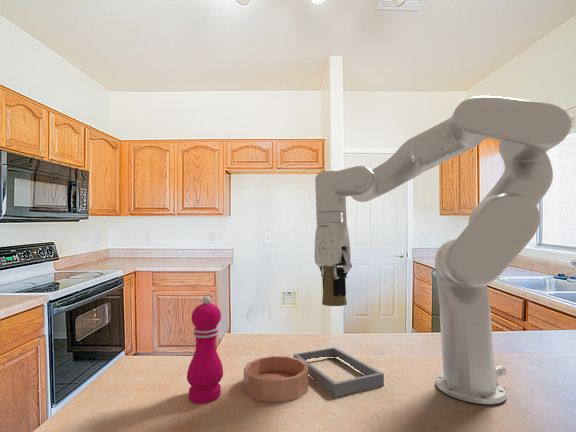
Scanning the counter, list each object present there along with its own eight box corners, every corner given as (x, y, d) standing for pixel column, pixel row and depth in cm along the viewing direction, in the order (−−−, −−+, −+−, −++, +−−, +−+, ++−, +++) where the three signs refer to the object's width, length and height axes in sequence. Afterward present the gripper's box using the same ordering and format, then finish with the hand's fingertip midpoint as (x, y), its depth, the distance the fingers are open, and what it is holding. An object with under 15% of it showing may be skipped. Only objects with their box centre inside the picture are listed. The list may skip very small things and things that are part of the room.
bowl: (291, 369, 75) (291, 352, 75) (319, 393, 62) (319, 373, 63) (237, 379, 69) (237, 361, 70) (256, 408, 57) (256, 385, 57)
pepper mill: (185, 391, 63) (188, 294, 66) (220, 385, 66) (221, 292, 68) (186, 408, 57) (189, 300, 59) (225, 401, 59) (226, 297, 61)
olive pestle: (346, 306, 70) (344, 258, 71) (320, 305, 71) (319, 259, 72) (347, 301, 76) (345, 257, 77) (323, 301, 77) (321, 258, 78)
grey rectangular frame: (334, 356, 83) (334, 347, 83) (384, 385, 65) (383, 373, 66) (293, 364, 78) (293, 354, 78) (334, 397, 60) (334, 384, 61)
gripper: (303, 223, 82) (304, 291, 80) (337, 216, 67) (340, 301, 65) (326, 223, 85) (329, 289, 83) (364, 217, 70) (368, 298, 68)
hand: (334, 293), depth 74 cm, fingers closed on olive pestle, 4 cm apart
